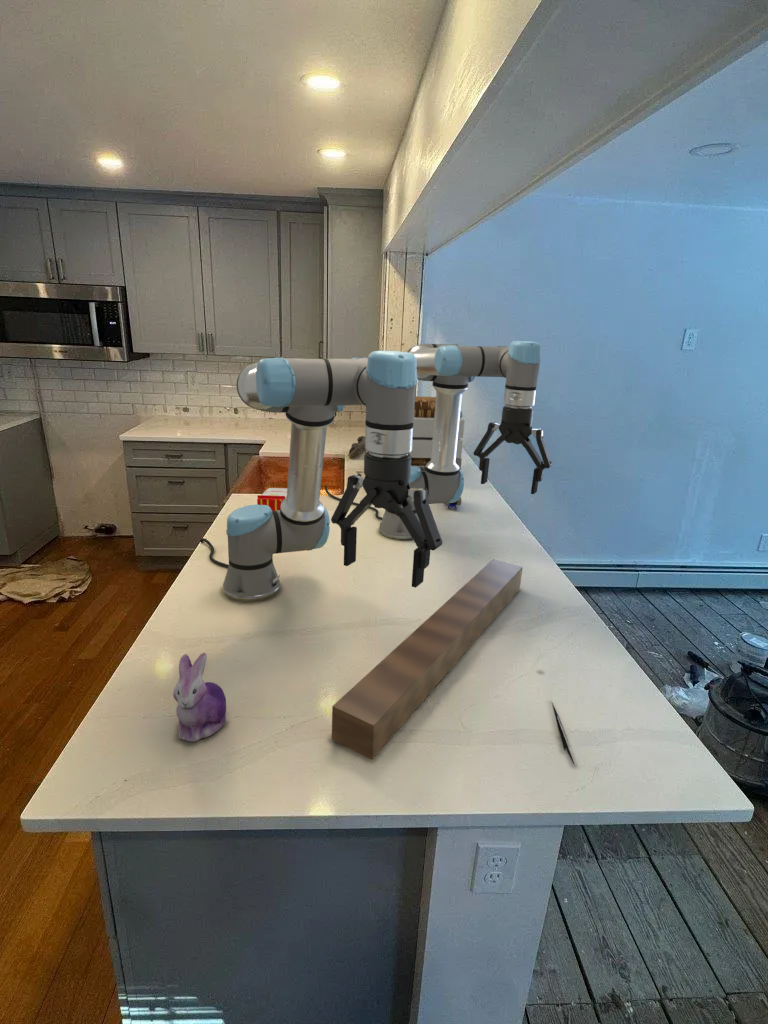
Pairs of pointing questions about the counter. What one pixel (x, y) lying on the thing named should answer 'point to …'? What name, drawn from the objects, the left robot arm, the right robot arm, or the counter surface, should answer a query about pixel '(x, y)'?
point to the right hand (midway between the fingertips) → (508, 487)
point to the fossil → (357, 448)
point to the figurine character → (454, 504)
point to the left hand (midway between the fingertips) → (382, 573)
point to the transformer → (428, 432)
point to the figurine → (198, 701)
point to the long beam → (421, 661)
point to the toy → (273, 498)
